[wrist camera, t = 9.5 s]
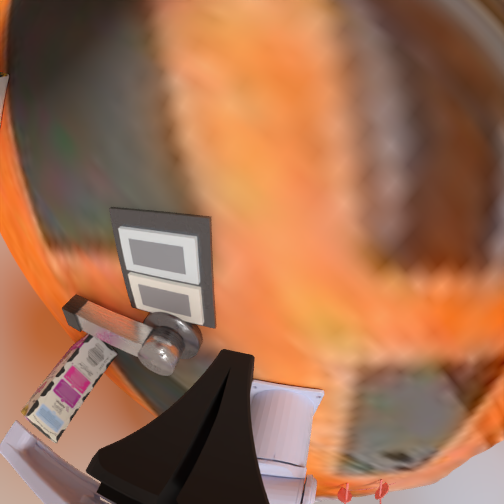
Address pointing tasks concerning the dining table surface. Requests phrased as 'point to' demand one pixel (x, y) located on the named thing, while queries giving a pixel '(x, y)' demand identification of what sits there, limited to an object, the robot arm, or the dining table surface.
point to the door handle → (127, 334)
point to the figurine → (346, 495)
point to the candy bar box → (68, 386)
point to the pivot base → (178, 331)
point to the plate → (178, 225)
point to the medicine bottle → (3, 90)
